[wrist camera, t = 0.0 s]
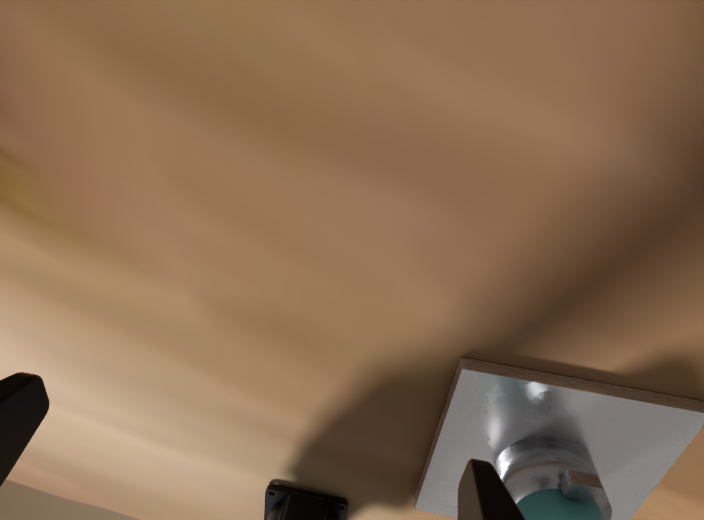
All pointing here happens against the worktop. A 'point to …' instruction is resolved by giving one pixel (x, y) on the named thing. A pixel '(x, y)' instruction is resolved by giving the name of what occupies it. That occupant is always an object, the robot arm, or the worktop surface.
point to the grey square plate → (555, 437)
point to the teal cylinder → (557, 507)
